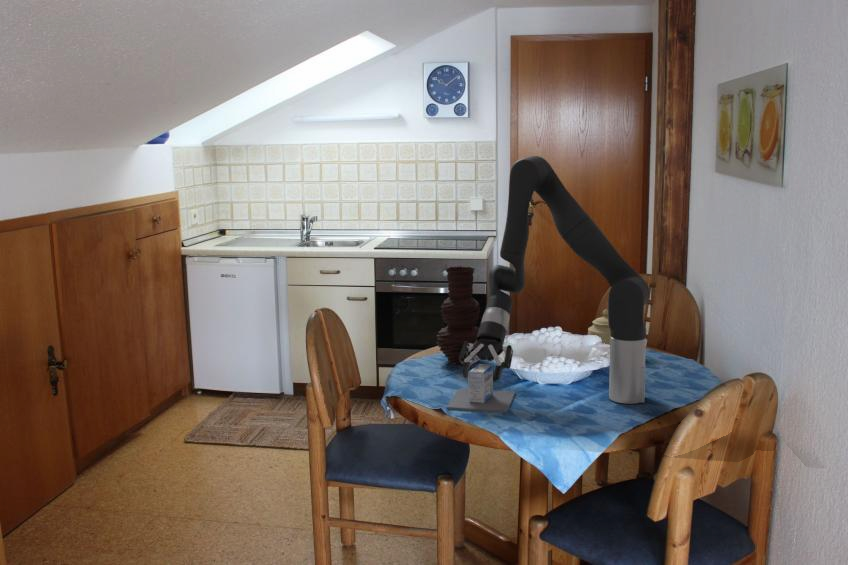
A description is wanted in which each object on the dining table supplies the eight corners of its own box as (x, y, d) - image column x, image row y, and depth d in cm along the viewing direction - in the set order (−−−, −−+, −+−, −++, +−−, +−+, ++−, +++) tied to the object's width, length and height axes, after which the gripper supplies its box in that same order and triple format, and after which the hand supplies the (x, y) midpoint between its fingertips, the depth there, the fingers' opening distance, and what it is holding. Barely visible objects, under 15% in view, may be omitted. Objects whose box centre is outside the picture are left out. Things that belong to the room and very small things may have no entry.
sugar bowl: (627, 348, 270) (628, 304, 267) (639, 357, 259) (640, 311, 257) (583, 350, 269) (584, 306, 266) (593, 359, 258) (594, 313, 255)
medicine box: (484, 404, 216) (483, 372, 215) (468, 402, 218) (467, 371, 216) (493, 395, 223) (493, 364, 222) (477, 393, 225) (477, 363, 224)
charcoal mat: (515, 393, 226) (515, 391, 226) (506, 412, 211) (506, 410, 211) (458, 390, 230) (458, 388, 230) (446, 409, 215) (446, 407, 215)
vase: (461, 371, 248) (460, 274, 243) (427, 361, 259) (425, 268, 254) (495, 361, 258) (495, 268, 253) (461, 352, 270) (460, 262, 264)
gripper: (466, 318, 226) (451, 369, 218) (515, 321, 221) (502, 374, 212) (473, 332, 232) (458, 382, 224) (521, 336, 226) (508, 388, 218)
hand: (479, 378), depth 218 cm, fingers open, 8 cm apart
